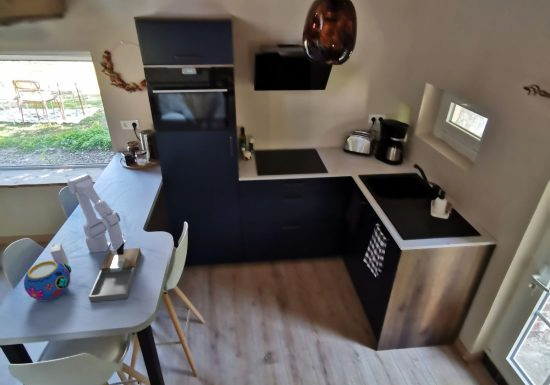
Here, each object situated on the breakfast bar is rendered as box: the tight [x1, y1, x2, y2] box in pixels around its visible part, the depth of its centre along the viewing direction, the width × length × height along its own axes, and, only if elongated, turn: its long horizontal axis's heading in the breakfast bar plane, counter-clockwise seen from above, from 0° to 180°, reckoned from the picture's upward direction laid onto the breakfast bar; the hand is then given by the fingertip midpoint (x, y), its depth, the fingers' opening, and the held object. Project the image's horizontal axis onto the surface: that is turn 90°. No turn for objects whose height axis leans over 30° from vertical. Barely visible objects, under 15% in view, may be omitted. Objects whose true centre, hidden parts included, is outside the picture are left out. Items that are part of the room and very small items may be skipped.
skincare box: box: [50, 243, 69, 265], centre depth 169 cm, size 6×4×12 cm
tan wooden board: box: [100, 247, 142, 272], centre depth 173 cm, size 16×14×4 cm
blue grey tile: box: [110, 261, 124, 272], centre depth 165 cm, size 5×5×2 cm
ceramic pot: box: [23, 260, 72, 302], centre depth 153 cm, size 18×18×15 cm
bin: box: [88, 268, 137, 303], centre depth 160 cm, size 16×18×4 cm
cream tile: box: [112, 254, 126, 263], centre depth 170 cm, size 5×5×2 cm
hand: (121, 255), depth 173 cm, fingers closed
